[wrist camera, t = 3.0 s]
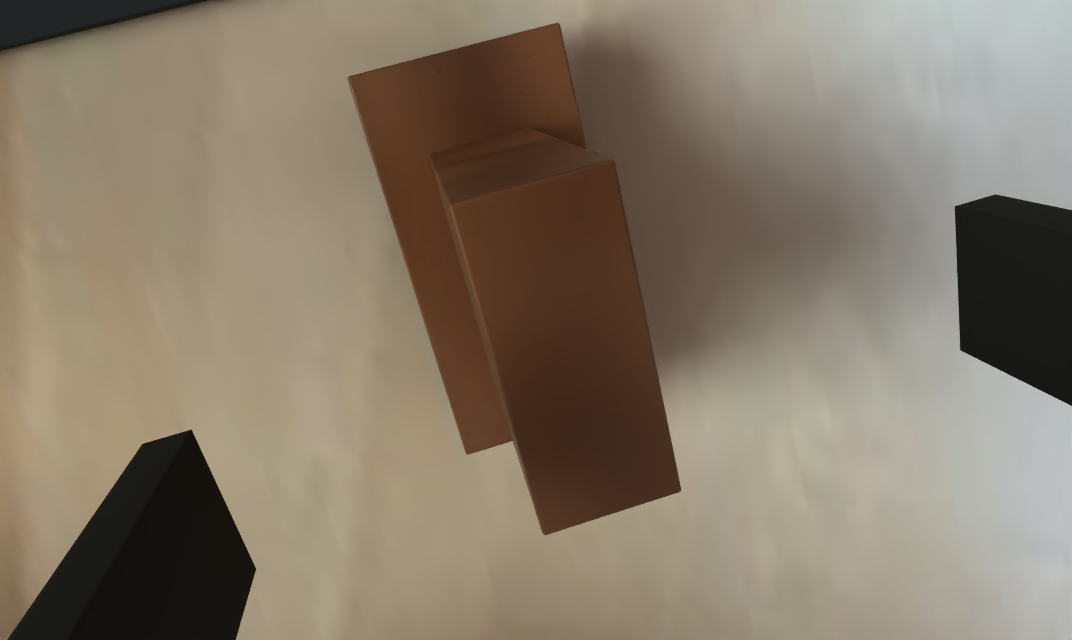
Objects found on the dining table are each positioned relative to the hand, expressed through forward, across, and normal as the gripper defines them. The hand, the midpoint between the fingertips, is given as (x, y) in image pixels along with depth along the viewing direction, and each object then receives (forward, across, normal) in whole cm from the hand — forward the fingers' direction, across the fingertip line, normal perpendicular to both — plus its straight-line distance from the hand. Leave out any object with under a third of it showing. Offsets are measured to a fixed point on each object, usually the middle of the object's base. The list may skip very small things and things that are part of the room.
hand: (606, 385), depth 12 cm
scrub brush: (+14, 0, 0) cm, 14 cm away
